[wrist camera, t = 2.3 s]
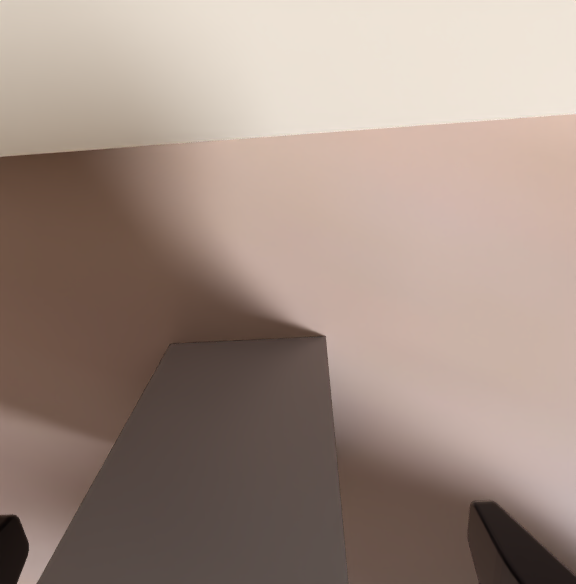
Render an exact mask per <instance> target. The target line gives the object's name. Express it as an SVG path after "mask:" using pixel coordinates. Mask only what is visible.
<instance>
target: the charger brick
mask: <svg viewBox="0 0 576 584" xmlns="http://www.w3.org/2000/svg"><path fill="white" fill-rule="evenodd" d="M37 584H348V573H347V563H346V552H345V541H344V530H343V519H342V508H341V498H340V487H339V476H338V465H337V454H336V443H335V432H334V422H333V411H332V400H331V389H330V378H329V367H328V357H327V346H326V336H320V337H300V338H280V339H259V340H239V341H219V342H198V343H178V344H170V345H169V347H168V349H167V351H166V353H165V354H164V356H163V358H162V360H161V362H160V363H159V365H158V367H157V369H156V371H155V372H154V374H153V376H152V378H151V379H150V381H149V383H148V385H147V387H146V388H145V390H144V392H143V394H142V396H141V397H140V399H139V401H138V403H137V405H136V406H135V408H134V410H133V412H132V414H131V415H130V417H129V419H128V421H127V423H126V424H125V426H124V428H123V430H122V432H121V433H120V435H119V437H118V439H117V441H116V442H115V444H114V446H113V448H112V449H111V451H110V453H109V455H108V457H107V458H106V460H105V462H104V464H103V466H102V467H101V469H100V471H99V473H98V475H97V476H96V478H95V480H94V482H93V484H92V485H91V487H90V489H89V491H88V493H87V494H86V496H85V498H84V500H83V502H82V503H81V505H80V507H79V509H78V511H77V512H76V514H75V516H74V518H73V519H72V521H71V523H70V525H69V527H68V528H67V530H66V532H65V534H64V536H63V537H62V539H61V541H60V543H59V545H58V546H57V548H56V550H55V552H54V554H53V555H52V557H51V559H50V561H49V563H48V564H47V566H46V568H45V570H44V572H43V573H42V575H41V577H40V579H39V581H38V582H37Z"/></svg>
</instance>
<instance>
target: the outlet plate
mask: <svg viewBox="0 0 576 584" xmlns="http://www.w3.org/2000/svg"><path fill="white" fill-rule="evenodd" d="M568 114H576V0H0V157H4V156H17V155H31V154H44V153H58V152H71V151H84V150H98V149H111V148H125V147H138V146H152V145H165V144H178V143H192V142H205V141H219V140H232V139H246V138H259V137H273V136H286V135H299V134H313V133H326V132H340V131H353V130H367V129H380V128H393V127H407V126H420V125H434V124H447V123H461V122H474V121H488V120H501V119H514V118H528V117H541V116H555V115H568Z"/></svg>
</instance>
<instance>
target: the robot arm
mask: <svg viewBox="0 0 576 584" xmlns="http://www.w3.org/2000/svg"><path fill="white" fill-rule="evenodd" d="M468 542H469V547H470V551H471V554H472V558H473V562H474V565H475V569H476V573H477V577H478V580H479V584H576V576H575V575H574V574H573V573H572V572H571V571H570V570H569V569H568V568H567V567H566V566H565V565H563V564H562V563H561V562H560V561H559V560H558V559H557V558H556V557H555V556H554V555H553V554H552V553H550V552H549V551H548V550H547V549H546V548H545V547H544V546H543V545H542V544H541V543H540V542H538V541H537V540H536V539H535V538H534V537H533V536H532V535H531V534H530V533H529V532H528V531H526V530H525V529H524V528H523V527H522V526H521V525H520V524H519V523H518V522H517V521H516V520H514V519H513V518H512V517H511V516H510V515H509V514H508V513H507V512H506V511H505V510H504V509H503V508H501V507H500V506H499V505H498V504H497V503H496V502H494V501H491V500H484V501H473V502H472V503H471V505H470V511H469V522H468ZM28 551H29V543H28V540H27V537H26V535H25V532H24V530H23V527H22V524H21V522H20V519H19V518H18V517H17V516H16V515H13V514H12V515H0V584H17V582H18V579H19V577H20V574H21V572H22V569H23V567H24V564H25V561H26V559H27V556H28Z"/></svg>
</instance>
